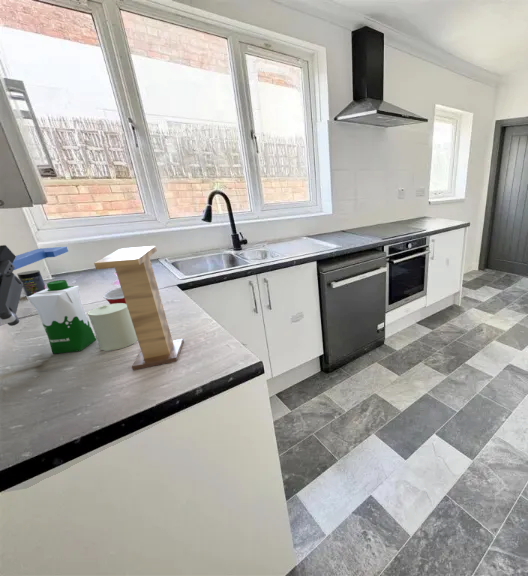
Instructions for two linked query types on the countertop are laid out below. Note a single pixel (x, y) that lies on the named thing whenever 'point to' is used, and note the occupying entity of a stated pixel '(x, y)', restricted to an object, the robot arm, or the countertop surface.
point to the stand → (143, 305)
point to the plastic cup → (115, 296)
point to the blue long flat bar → (37, 256)
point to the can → (113, 326)
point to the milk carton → (63, 317)
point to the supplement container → (31, 282)
